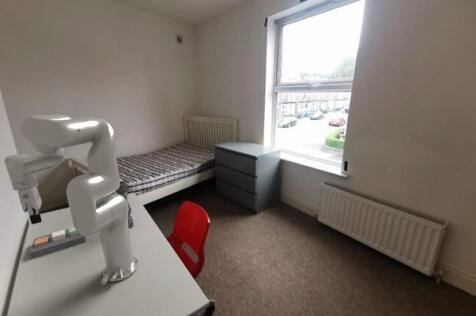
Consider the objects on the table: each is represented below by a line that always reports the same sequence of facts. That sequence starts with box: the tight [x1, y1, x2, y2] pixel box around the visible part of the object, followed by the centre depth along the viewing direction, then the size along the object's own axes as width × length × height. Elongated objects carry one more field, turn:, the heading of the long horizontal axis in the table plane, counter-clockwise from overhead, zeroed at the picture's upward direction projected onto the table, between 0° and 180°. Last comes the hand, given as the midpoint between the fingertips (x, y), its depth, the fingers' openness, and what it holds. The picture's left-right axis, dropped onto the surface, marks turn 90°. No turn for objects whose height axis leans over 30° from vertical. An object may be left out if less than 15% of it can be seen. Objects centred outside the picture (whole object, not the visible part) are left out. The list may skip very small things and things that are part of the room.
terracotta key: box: [34, 236, 49, 247], centre depth 97 cm, size 4×4×4 cm
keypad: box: [29, 228, 87, 260], centre depth 101 cm, size 19×12×3 cm, turn 127°
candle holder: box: [115, 180, 135, 230], centre depth 111 cm, size 6×6×25 cm
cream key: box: [51, 229, 66, 242], centre depth 100 cm, size 4×4×4 cm
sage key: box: [68, 226, 79, 237], centre depth 104 cm, size 4×4×4 cm
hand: (36, 222), depth 94 cm, fingers closed
